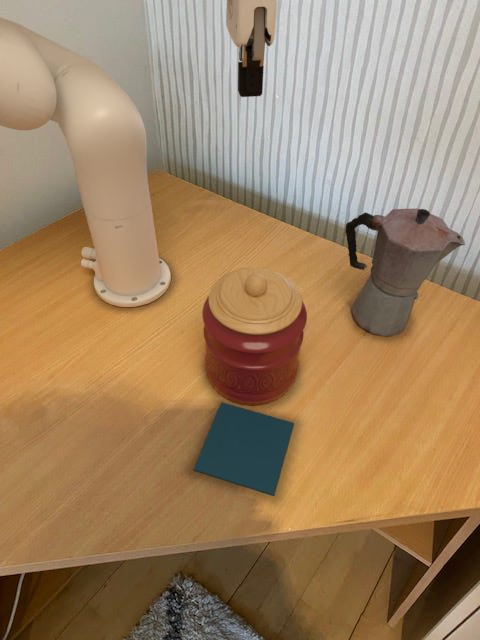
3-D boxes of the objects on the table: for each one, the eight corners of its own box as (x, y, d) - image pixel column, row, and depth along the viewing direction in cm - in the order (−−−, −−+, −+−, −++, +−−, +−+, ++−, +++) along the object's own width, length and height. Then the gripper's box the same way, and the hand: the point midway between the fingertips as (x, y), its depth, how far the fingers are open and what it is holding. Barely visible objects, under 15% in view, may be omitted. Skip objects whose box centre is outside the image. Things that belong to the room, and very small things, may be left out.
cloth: (193, 470, 57) (193, 469, 57) (221, 403, 64) (221, 402, 63) (274, 496, 55) (274, 494, 55) (294, 424, 62) (294, 422, 61)
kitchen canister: (300, 409, 63) (318, 318, 50) (203, 407, 63) (196, 316, 50) (293, 335, 72) (307, 242, 59) (208, 334, 72) (203, 240, 59)
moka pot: (429, 347, 71) (481, 240, 56) (325, 331, 73) (349, 222, 58) (425, 303, 77) (470, 196, 63) (330, 289, 79) (353, 182, 65)
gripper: (213, -85, 58) (216, 75, 71) (231, -62, 48) (231, 119, 61) (274, -85, 59) (265, 73, 72) (304, -62, 49) (288, 116, 62)
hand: (249, 93), depth 67 cm, fingers closed
